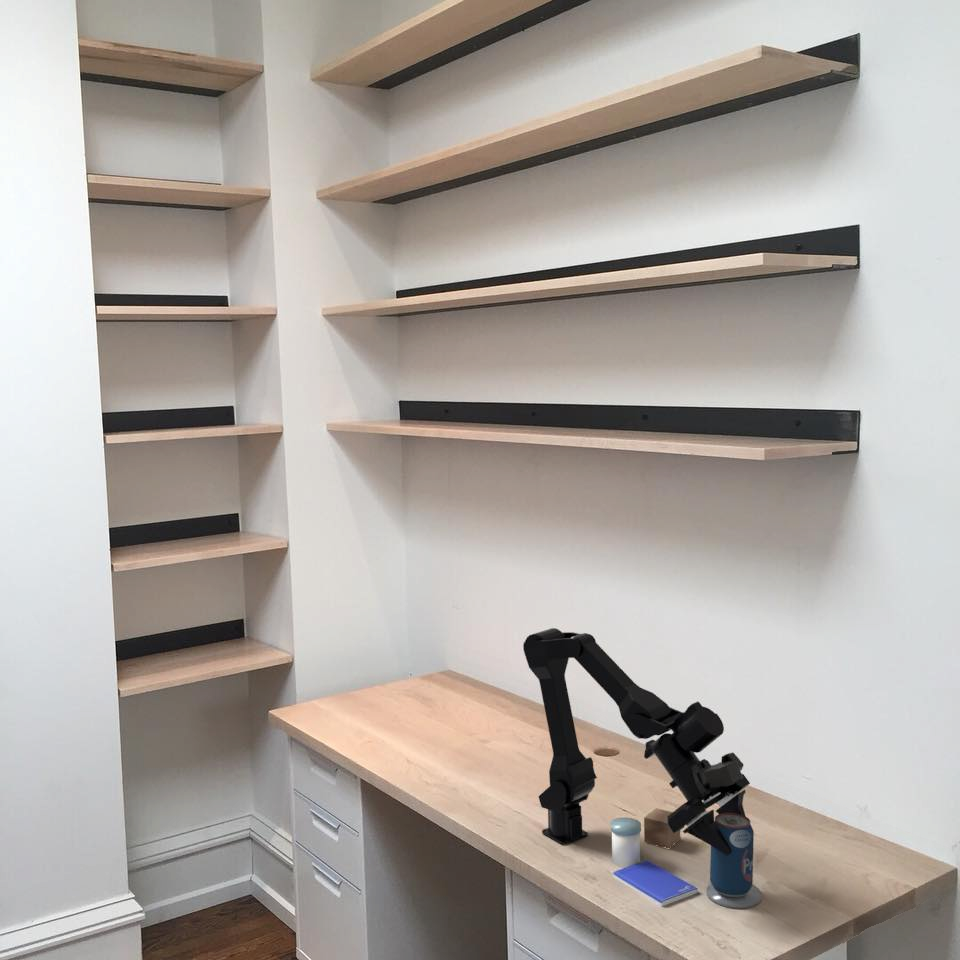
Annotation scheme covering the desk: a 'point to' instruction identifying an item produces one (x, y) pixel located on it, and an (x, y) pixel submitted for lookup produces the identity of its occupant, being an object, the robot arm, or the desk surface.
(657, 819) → the walnut block
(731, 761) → the robot arm
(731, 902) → the coaster
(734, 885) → the soda can
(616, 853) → the white jar
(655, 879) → the hard drive
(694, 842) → the desk surface
